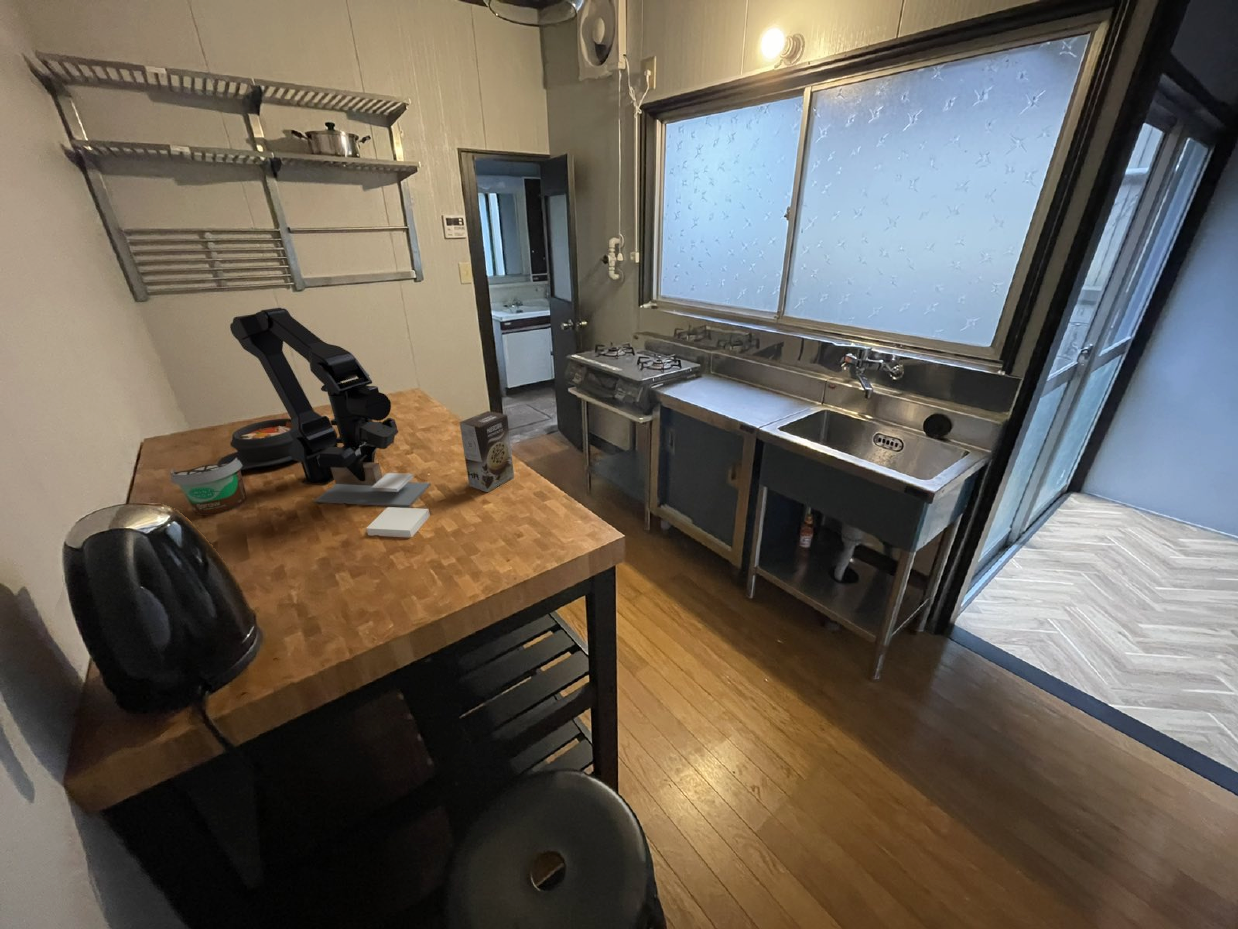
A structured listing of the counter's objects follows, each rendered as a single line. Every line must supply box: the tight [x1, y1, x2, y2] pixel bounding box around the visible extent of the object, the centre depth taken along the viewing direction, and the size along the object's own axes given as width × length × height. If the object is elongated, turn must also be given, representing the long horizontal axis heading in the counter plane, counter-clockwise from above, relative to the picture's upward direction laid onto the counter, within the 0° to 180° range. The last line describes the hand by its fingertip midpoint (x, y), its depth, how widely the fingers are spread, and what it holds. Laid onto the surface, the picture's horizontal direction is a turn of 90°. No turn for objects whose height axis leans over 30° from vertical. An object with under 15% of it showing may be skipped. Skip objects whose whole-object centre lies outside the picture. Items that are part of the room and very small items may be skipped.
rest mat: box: [314, 481, 432, 508], centre depth 112 cm, size 22×10×1 cm, turn 84°
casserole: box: [217, 418, 294, 471], centre depth 128 cm, size 25×19×8 cm
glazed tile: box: [365, 506, 431, 538], centre depth 100 cm, size 2×8×9 cm
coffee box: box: [459, 410, 515, 493], centre depth 113 cm, size 9×6×16 cm
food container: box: [170, 458, 248, 516], centre depth 104 cm, size 12×6×10 cm, turn 117°
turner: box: [331, 462, 414, 492], centre depth 110 cm, size 16×7×4 cm, turn 84°
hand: (366, 477), depth 110 cm, fingers closed on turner, 3 cm apart
